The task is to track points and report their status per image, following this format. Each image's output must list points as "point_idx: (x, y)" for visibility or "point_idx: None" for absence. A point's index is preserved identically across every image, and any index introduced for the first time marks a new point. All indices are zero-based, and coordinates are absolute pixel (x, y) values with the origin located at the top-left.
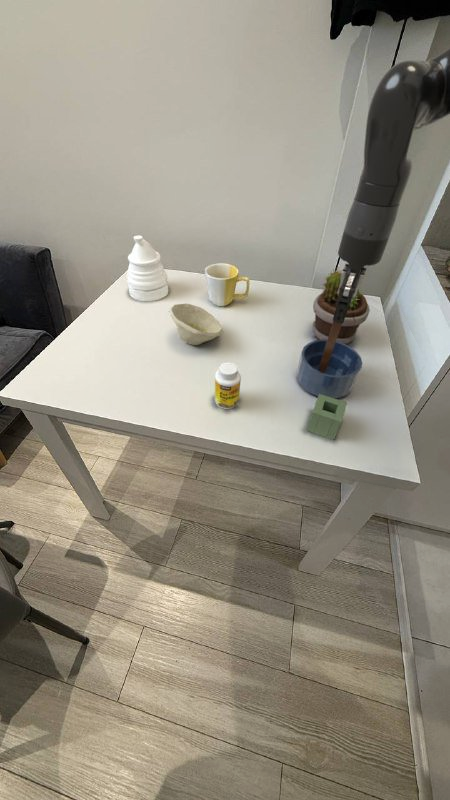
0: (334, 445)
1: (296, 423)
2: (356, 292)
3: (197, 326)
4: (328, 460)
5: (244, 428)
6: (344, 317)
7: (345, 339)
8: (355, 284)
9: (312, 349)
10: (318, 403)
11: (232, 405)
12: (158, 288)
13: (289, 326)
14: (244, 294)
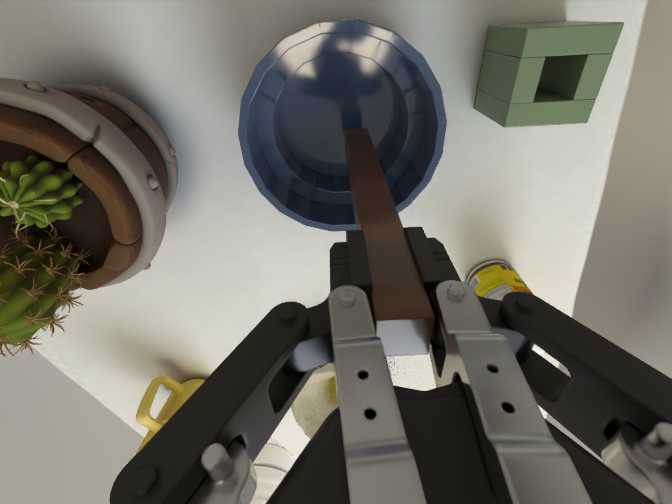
0: (585, 12)
1: (521, 134)
2: (518, 365)
3: (325, 392)
4: (640, 15)
5: (555, 225)
6: (428, 245)
7: (135, 112)
8: (605, 466)
9: (297, 200)
10: (547, 117)
11: (512, 268)
12: (264, 464)
13: (171, 262)
14: (162, 381)
